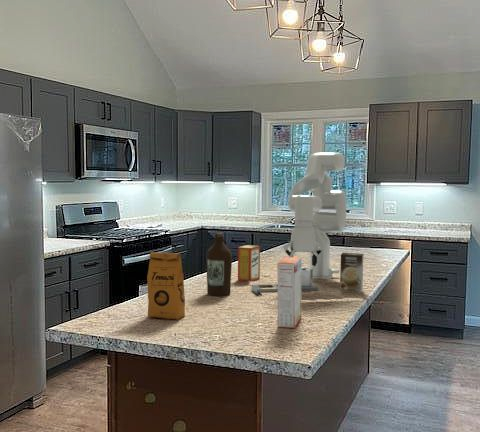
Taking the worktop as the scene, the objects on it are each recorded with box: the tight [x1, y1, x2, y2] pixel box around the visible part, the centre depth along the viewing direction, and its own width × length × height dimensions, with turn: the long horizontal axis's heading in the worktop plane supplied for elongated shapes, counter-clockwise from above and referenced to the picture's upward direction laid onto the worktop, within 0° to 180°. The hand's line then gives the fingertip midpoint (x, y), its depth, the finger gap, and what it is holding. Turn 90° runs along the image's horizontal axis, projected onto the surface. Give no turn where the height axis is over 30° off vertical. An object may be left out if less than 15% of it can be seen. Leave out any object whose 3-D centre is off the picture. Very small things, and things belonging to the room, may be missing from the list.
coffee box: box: [339, 252, 364, 294], centre depth 224 cm, size 9×6×16 cm
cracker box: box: [276, 256, 302, 329], centre depth 173 cm, size 14×6×21 cm, turn 164°
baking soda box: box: [237, 244, 261, 282], centre depth 250 cm, size 10×6×16 cm
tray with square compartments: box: [251, 283, 319, 296], centre depth 223 cm, size 26×10×2 cm, turn 101°
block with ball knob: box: [304, 267, 314, 285], centre depth 234 cm, size 4×4×8 cm
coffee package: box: [146, 251, 186, 321], centre depth 179 cm, size 10×12×22 cm
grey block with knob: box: [301, 267, 310, 287], centre depth 224 cm, size 4×4×8 cm
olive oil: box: [205, 232, 233, 297], centre depth 217 cm, size 11×11×25 cm
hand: (302, 265), depth 223 cm, fingers open, 9 cm apart
